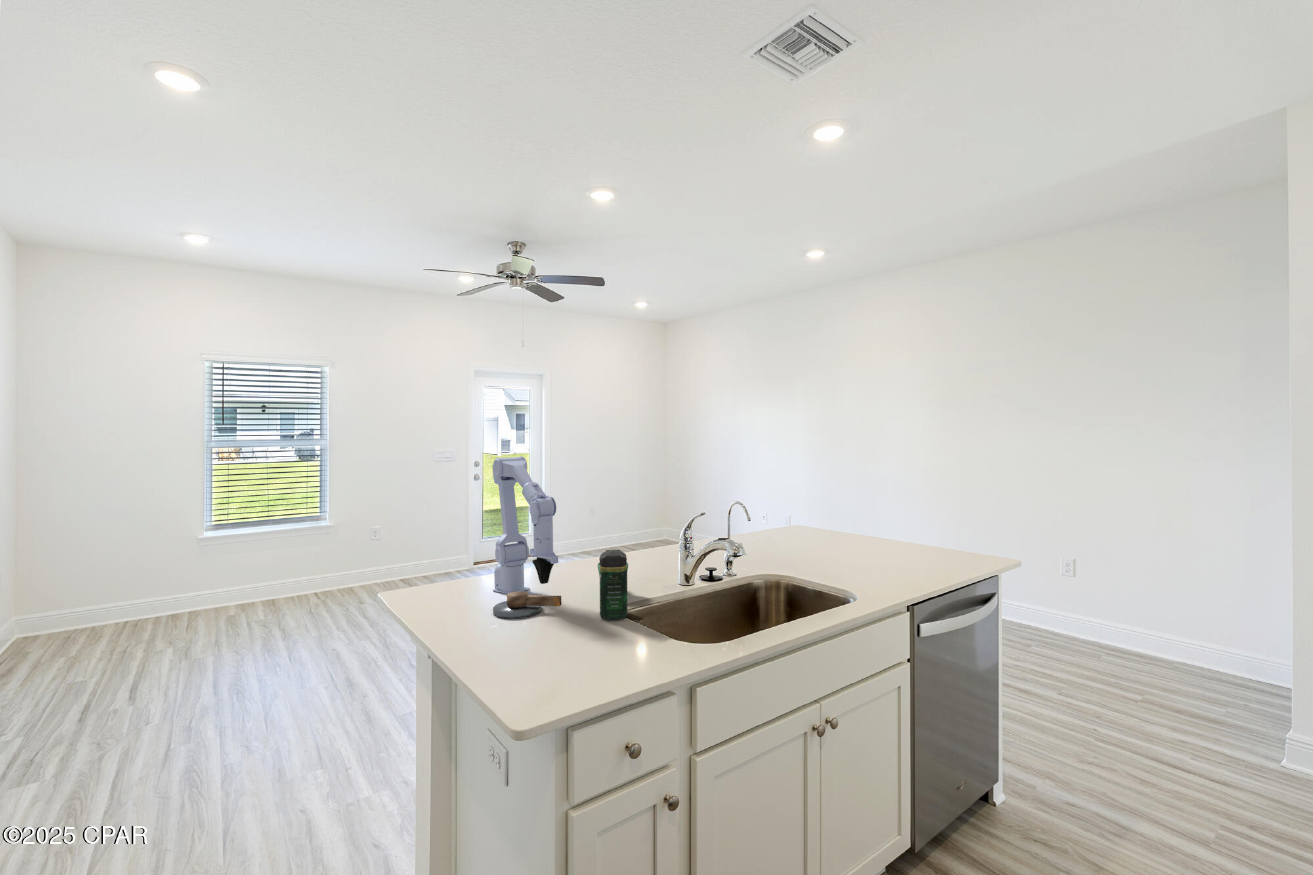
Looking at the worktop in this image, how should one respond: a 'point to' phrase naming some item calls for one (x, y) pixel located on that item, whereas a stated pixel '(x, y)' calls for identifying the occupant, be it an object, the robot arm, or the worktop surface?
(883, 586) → the worktop surface
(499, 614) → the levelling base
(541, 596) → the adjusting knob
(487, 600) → the worktop surface
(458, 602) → the worktop surface
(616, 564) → the coffee jar
